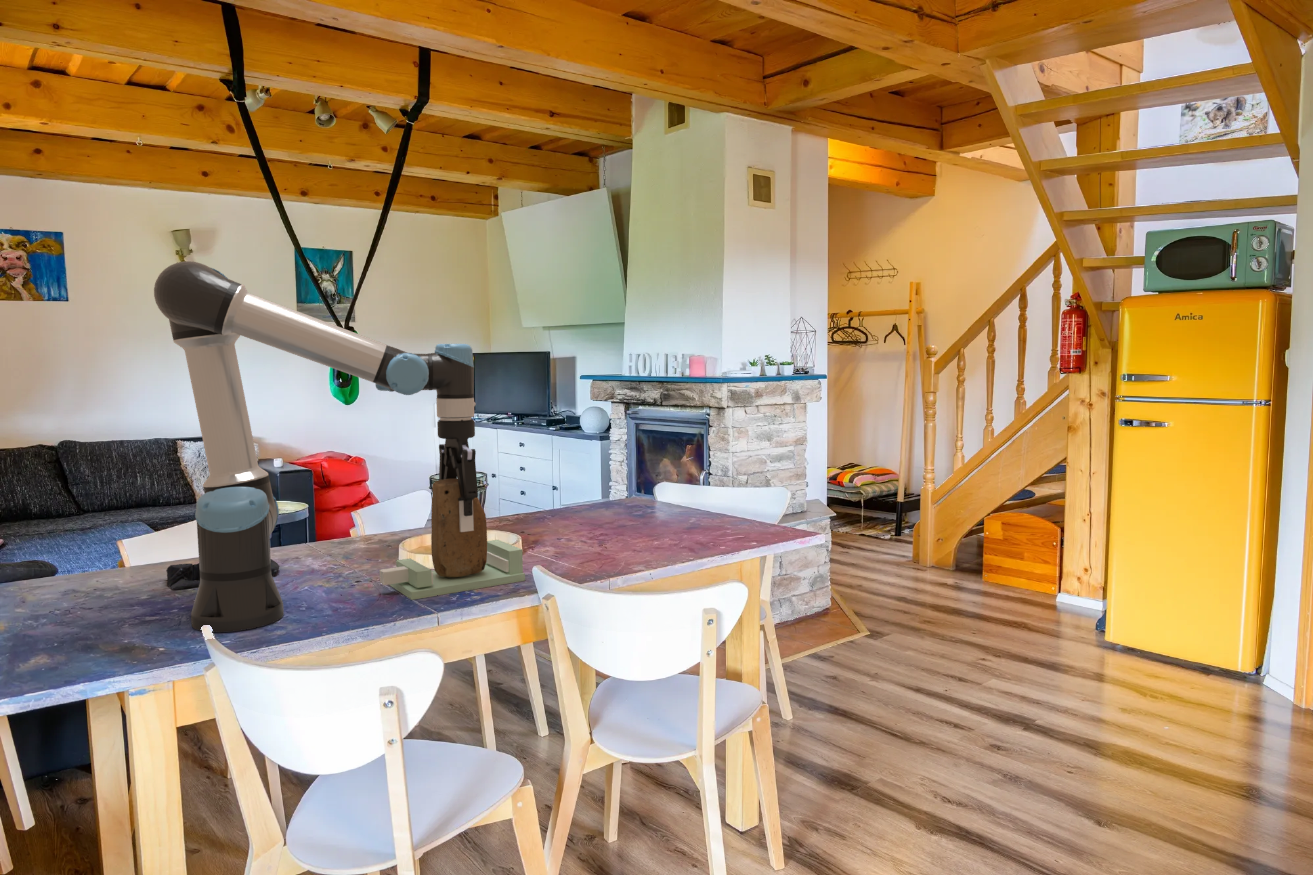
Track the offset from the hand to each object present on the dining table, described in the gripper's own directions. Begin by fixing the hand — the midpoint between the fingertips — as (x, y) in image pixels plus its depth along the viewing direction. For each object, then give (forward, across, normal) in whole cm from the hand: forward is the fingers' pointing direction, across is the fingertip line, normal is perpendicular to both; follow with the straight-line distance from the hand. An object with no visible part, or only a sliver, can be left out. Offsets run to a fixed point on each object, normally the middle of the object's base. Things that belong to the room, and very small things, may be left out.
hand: (458, 527), depth 184 cm
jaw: (+10, 0, +12) cm, 16 cm away
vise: (+12, 0, 0) cm, 12 cm away
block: (+10, 0, 0) cm, 10 cm away
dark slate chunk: (+12, +34, +40) cm, 54 cm away
